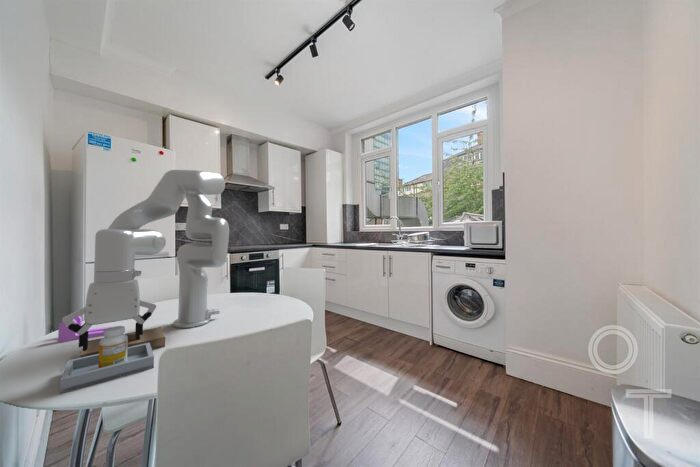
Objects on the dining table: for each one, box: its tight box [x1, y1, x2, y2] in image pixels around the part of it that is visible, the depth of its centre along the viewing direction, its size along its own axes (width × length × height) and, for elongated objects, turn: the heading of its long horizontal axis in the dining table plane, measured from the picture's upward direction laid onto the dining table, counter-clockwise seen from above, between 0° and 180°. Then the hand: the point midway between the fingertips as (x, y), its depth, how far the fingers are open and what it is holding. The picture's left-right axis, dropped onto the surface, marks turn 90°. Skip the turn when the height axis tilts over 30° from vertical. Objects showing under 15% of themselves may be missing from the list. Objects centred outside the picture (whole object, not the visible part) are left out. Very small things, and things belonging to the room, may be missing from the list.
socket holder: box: [79, 326, 166, 358], centre depth 74 cm, size 18×11×3 cm, turn 134°
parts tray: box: [59, 343, 155, 394], centre depth 63 cm, size 16×11×3 cm
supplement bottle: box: [98, 325, 128, 368], centre depth 63 cm, size 5×5×10 cm
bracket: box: [57, 315, 111, 343], centre depth 84 cm, size 13×6×7 cm, turn 123°
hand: (112, 343), depth 63 cm, fingers open, 9 cm apart
